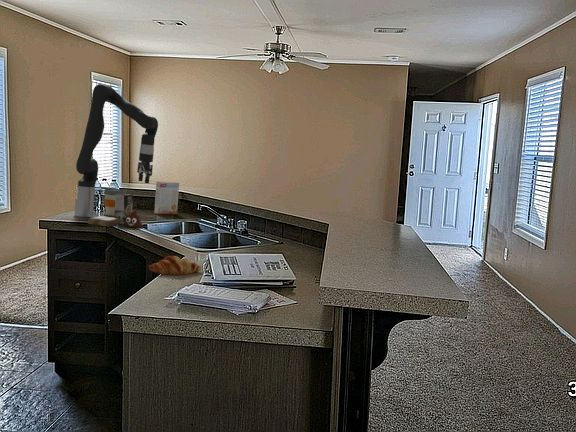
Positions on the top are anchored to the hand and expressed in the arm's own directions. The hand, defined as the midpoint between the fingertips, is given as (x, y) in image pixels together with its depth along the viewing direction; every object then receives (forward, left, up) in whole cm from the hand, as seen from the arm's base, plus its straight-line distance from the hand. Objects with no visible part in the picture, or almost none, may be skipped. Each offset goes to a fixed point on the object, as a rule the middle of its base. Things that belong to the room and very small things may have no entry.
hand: (143, 182), depth 330 cm
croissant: (+61, -99, -24) cm, 119 cm away
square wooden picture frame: (-14, -15, -24) cm, 31 cm away
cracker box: (-8, +54, -24) cm, 60 cm away
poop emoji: (+1, -11, -24) cm, 27 cm away
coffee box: (-9, -4, -24) cm, 26 cm away
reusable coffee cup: (-28, +22, -24) cm, 43 cm away
